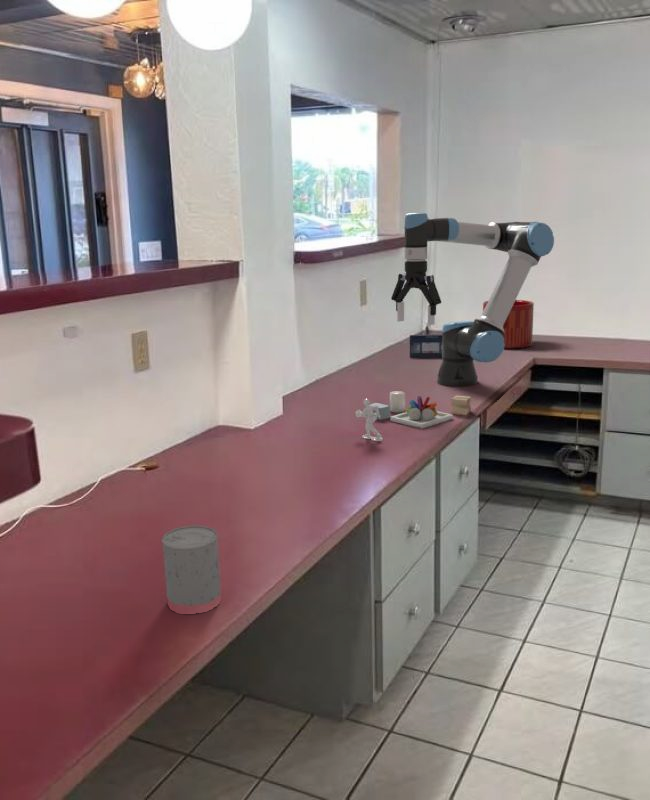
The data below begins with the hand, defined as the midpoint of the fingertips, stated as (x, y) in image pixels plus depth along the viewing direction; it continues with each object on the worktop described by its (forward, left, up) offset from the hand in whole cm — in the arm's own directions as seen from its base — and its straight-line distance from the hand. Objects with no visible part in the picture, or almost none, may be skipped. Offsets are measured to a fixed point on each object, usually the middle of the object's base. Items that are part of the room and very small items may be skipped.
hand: (415, 323), depth 268 cm
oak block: (+4, +23, -27) cm, 36 cm away
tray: (+20, +20, -27) cm, 38 cm away
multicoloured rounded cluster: (+19, +20, -26) cm, 38 cm away
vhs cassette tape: (-61, -44, -27) cm, 80 cm away
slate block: (+26, +7, -27) cm, 38 cm away
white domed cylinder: (+16, +6, -27) cm, 32 cm away
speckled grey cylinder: (+136, +66, -27) cm, 154 cm away
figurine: (+45, +21, -27) cm, 56 cm away
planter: (-106, -35, -27) cm, 115 cm away
